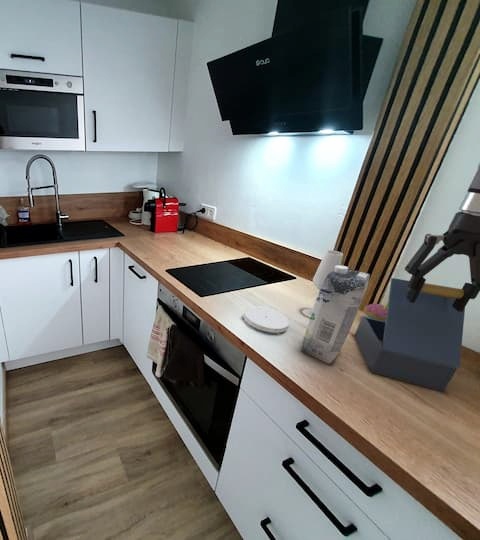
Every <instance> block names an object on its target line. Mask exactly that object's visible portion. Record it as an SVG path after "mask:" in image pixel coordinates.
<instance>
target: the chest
mask: <svg viewBox="0 0 480 540" xmlns="http://www.w3.org/2000/svg"><path fill="white" fill-rule="evenodd" d="M385 323H386V321H382V320H377V319H372V318H368V317H367V316H362V317H361V319H360V321H359V323H358V325H357V328H356V330H355V333H354V338H355V340H356V343H357V344H358V347H359V349H360V351H361V354H362V356H363V357H364V360H365V362H366V364H367V366H368V368H369V371H370V373H373V374H377V375H381V376H384V377H387V378H388V377H389V378H391V379H395V380H399V381H401V382H402V381H403V382H406V383H408V384H409V383H410V384H413V385H417V386H421V387H424V388H428V389H432V390H436V391H439V392H444V391H445V389H446V387H447V386H448V385H449V383H450V382H451V380H452V379H453V377H454V375H455V374H456V372H457V371H458V368H456V367H452V366H448V365H444V364H440V363H436V362H432V361H427V360H423V359H419V358H415V357H411V356H407V355H403V354H399V353H395V352H390V351H386V350H382V345H383V338H384V330H385Z"/></svg>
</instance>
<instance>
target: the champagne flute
mask: <svg viewBox="0 0 480 540" xmlns="http://www.w3.org/2000/svg"><path fill="white" fill-rule="evenodd" d="M343 257H344V253H343V252H340V251H337V250H333V249H332V250H330V249H327V250H325V252H324V254H323V257H322V259H321V260H320V263H319V265H318V267H317V270H316V272H315V274H314V276H313V278H312V283H313V286H314V287H315V288H316V289H317V294H316V298H315V301H314V303H313V306H312V308H306V309H305V308H304V309H302V311H301V312H302V314H303V315H304V316H305V317H307V318H309V319H310V318H311V315H312V312H313V309H314V306H315V303H316V300H317V298H318V295H319V292H320V289H321V287H322V284H323V282H324V280H325V279H326V277H327V275H328V274H329V273H330V272H332V271H333V269H334V268H335V266H337V265H339V266H341V265H342V260H343Z"/></svg>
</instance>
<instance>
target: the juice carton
mask: <svg viewBox="0 0 480 540" xmlns="http://www.w3.org/2000/svg"><path fill="white" fill-rule="evenodd" d="M370 276H371V274H370V273H367V272H364V271H360V270H356V269H352V268H349V267H348V266H346V265H342V264H341V265H340V266H339V265H337V266H335V268H334V269H333V271H332V272H330V273H329V274H328V275H327V277H326V279H325V280H324V282H323V284H322V287H321V289H320V292H319V291H318V292H319V295H318V294H317V295H318V298H317V300H316V299H315V300H316V303H315V302H314V303H315V306H314V305H313V306H314V309H313V308H312V309H313V312H312V315H311V318H310V317H309V321H308V323H307V326H306V328H305V332H304V335H303V339H302V345H301V351H302V353H304V354H306V355H308V356H310V357H313V358H316V359H317V360H319V361H322V362H324V363H326V364H332V362H333V361H334V360H335V359H336V357H338V355H339V353H340V352H341V350H342V348H343V346H344V345H345V342H346V341H347V337H348V335H349V333H350V331H351V328H352V326H353V324H354V321H355V319H356V316H357V314H358V311H359V309H360V307H361V304H362V302H363V300H364V298H365V295H366V293H367V289H368V286H369V282H370Z"/></svg>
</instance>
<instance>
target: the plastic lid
mask: <svg viewBox="0 0 480 540" xmlns="http://www.w3.org/2000/svg"><path fill="white" fill-rule="evenodd" d="M243 319H244V321H245V322H246V323H247V324H248V325H250V326H251V327H253V328H255V329H257V330H259V331H263V332H266V333H274V334H275V333H276V334H280V333H284V332H286V331H287V330H288V328H289V325H290V320H289V319H288V317H287V316H286V315H284V313H281V312H280V311H278V310H276V309H273V308H270V307H266V306H259V305H252V306H248V307H247V308H245V309H244V311H243Z"/></svg>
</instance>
